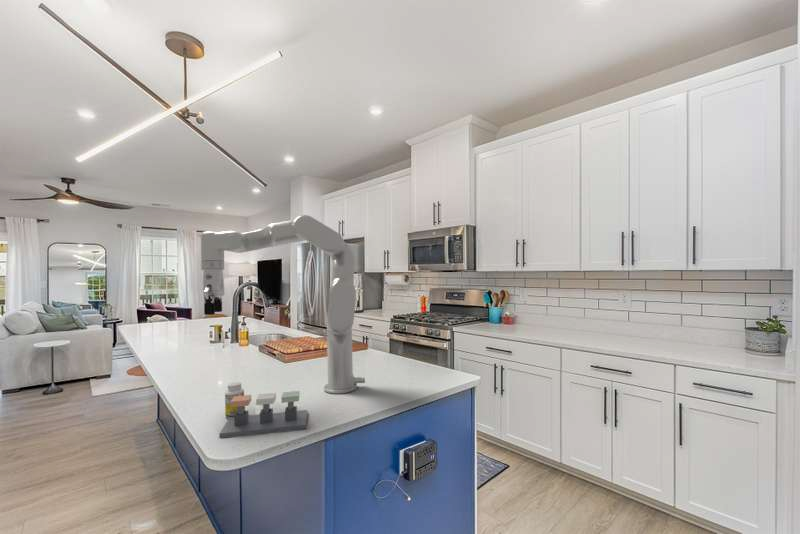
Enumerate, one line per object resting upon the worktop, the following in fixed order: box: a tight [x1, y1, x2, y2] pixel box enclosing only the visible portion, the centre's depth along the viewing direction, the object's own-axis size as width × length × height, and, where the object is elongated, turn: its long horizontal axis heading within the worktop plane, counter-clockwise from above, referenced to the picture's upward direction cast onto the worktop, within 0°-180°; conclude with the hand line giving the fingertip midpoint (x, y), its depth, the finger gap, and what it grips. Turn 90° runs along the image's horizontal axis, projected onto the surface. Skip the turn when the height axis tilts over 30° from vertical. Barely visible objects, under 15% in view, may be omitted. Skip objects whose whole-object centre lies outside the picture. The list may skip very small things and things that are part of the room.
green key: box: [281, 390, 300, 410], centre depth 112 cm, size 5×5×5 cm
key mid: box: [255, 392, 277, 412], centre depth 110 cm, size 5×5×5 cm
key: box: [230, 394, 252, 415], centre depth 109 cm, size 5×5×5 cm
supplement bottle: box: [224, 381, 245, 420], centre depth 118 cm, size 6×6×10 cm
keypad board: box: [218, 405, 308, 439], centre depth 110 cm, size 23×12×4 cm, turn 102°
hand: (213, 313), depth 135 cm, fingers open, 9 cm apart
